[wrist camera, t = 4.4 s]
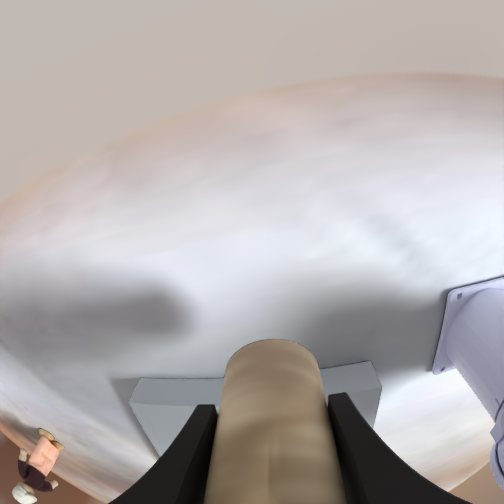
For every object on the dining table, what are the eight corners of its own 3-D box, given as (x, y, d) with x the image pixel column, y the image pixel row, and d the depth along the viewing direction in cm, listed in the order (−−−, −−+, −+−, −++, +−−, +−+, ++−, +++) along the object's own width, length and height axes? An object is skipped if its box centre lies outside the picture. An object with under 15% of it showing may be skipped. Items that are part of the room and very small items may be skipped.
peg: (318, 333, 11) (366, 529, 3) (318, 401, 12) (343, 557, 5) (217, 343, 11) (173, 535, 4) (233, 408, 12) (215, 563, 5)
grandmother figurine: (30, 423, 26) (-8, 481, 14) (41, 422, 26) (0, 485, 13) (66, 457, 28) (36, 516, 16) (79, 458, 27) (49, 521, 15)
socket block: (370, 360, 20) (382, 386, 17) (349, 471, 25) (353, 491, 22) (140, 377, 21) (127, 402, 18) (195, 480, 26) (192, 500, 23)
